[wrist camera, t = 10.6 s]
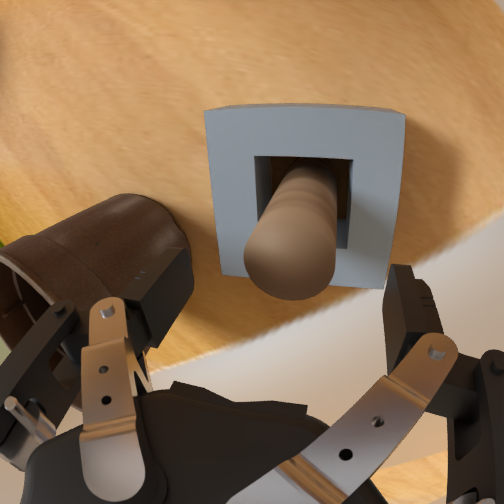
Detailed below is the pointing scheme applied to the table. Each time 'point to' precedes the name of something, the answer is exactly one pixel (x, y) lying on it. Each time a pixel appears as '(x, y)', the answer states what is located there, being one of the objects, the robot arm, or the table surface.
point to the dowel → (296, 234)
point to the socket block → (308, 145)
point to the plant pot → (81, 262)
